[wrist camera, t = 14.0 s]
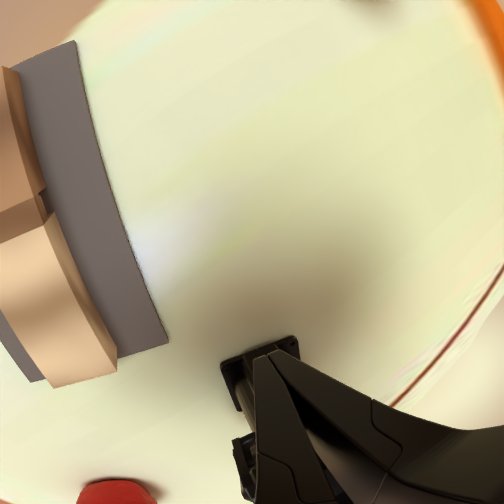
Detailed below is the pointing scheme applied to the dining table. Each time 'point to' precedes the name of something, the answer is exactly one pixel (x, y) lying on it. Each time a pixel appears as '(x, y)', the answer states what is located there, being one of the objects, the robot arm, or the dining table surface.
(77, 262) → the underlay mat
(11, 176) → the wooden block
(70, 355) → the birch plank
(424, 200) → the dining table surface
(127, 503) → the pomegranate
